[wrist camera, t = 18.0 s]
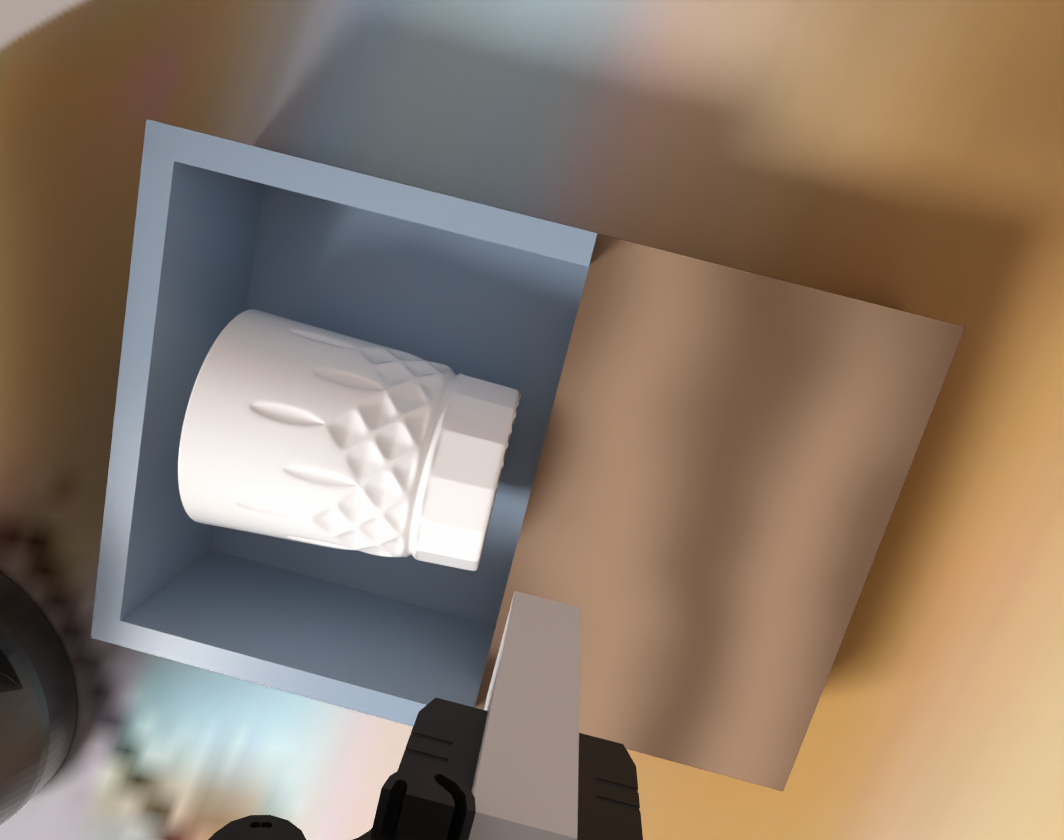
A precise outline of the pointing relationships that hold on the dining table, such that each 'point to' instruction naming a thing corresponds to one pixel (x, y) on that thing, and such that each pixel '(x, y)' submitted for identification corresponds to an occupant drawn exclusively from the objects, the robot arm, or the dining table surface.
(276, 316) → the white cup
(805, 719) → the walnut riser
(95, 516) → the dining table surface
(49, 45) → the dining table surface
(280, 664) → the box
